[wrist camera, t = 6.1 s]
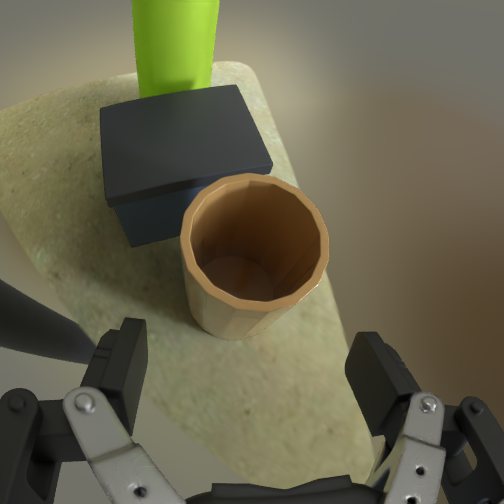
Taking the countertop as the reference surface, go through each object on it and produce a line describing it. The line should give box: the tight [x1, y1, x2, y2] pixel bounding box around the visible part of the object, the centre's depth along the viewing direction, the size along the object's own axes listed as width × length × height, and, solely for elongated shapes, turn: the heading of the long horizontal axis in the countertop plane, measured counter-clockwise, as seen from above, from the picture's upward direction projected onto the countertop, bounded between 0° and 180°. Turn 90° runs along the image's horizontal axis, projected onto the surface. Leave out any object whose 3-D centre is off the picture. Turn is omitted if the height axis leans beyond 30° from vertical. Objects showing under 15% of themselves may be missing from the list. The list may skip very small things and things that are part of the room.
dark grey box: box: [100, 85, 273, 247], centre depth 21 cm, size 9×7×7 cm
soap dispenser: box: [132, 0, 220, 99], centre depth 17 cm, size 6×7×20 cm
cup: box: [179, 173, 329, 340], centre depth 17 cm, size 6×6×10 cm
